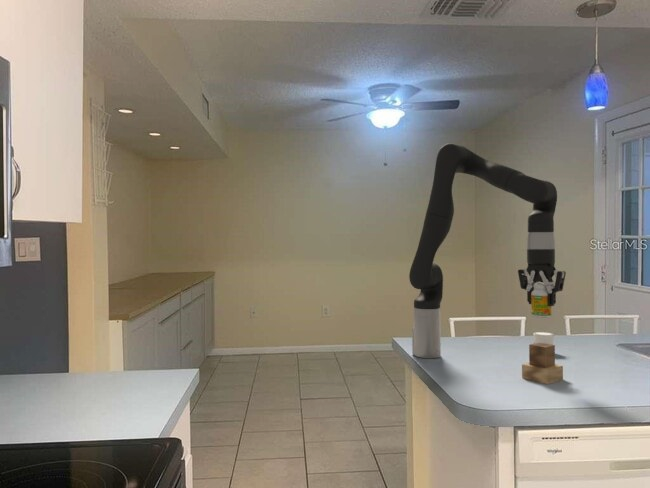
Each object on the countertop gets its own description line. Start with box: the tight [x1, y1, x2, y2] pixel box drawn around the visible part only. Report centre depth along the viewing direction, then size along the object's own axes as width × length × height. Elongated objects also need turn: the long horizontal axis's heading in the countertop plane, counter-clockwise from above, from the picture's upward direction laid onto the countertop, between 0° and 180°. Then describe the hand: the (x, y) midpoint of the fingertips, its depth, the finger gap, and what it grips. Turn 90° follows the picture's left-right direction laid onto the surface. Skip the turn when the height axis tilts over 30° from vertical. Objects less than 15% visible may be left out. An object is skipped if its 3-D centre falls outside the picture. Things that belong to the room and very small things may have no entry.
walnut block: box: [528, 342, 556, 368], centre depth 139 cm, size 5×5×6 cm
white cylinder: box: [532, 331, 555, 345], centre depth 171 cm, size 7×7×7 cm
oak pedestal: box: [521, 362, 564, 385], centre depth 139 cm, size 8×8×4 cm
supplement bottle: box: [530, 282, 552, 319], centre depth 139 cm, size 5×5×10 cm
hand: (541, 304), depth 139 cm, fingers closed on supplement bottle, 5 cm apart
